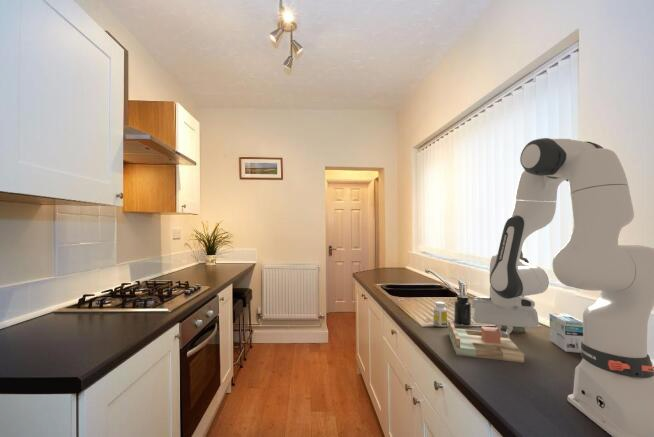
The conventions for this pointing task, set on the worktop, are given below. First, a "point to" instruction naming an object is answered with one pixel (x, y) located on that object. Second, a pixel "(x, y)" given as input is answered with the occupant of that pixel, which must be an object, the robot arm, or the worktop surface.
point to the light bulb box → (566, 332)
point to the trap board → (482, 346)
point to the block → (490, 334)
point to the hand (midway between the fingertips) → (504, 337)
